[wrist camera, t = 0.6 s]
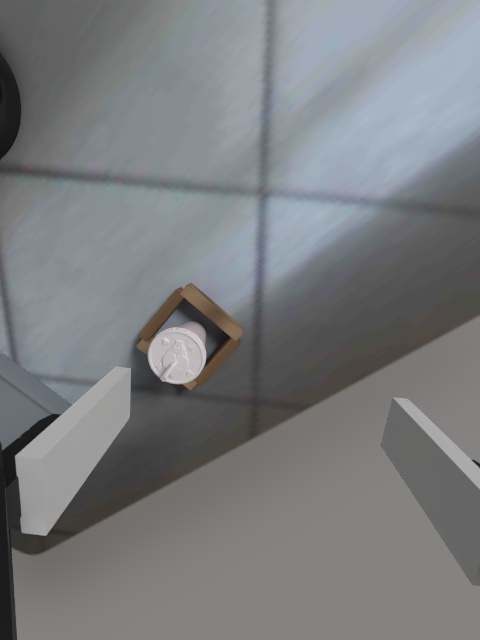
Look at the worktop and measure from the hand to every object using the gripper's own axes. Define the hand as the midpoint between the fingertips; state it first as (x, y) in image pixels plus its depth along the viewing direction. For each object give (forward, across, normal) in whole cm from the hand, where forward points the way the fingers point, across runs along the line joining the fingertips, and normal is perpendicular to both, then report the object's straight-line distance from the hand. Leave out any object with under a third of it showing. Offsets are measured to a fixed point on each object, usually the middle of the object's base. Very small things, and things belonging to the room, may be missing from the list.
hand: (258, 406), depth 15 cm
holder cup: (+27, -8, -5) cm, 28 cm away
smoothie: (+27, -8, -5) cm, 28 cm away
